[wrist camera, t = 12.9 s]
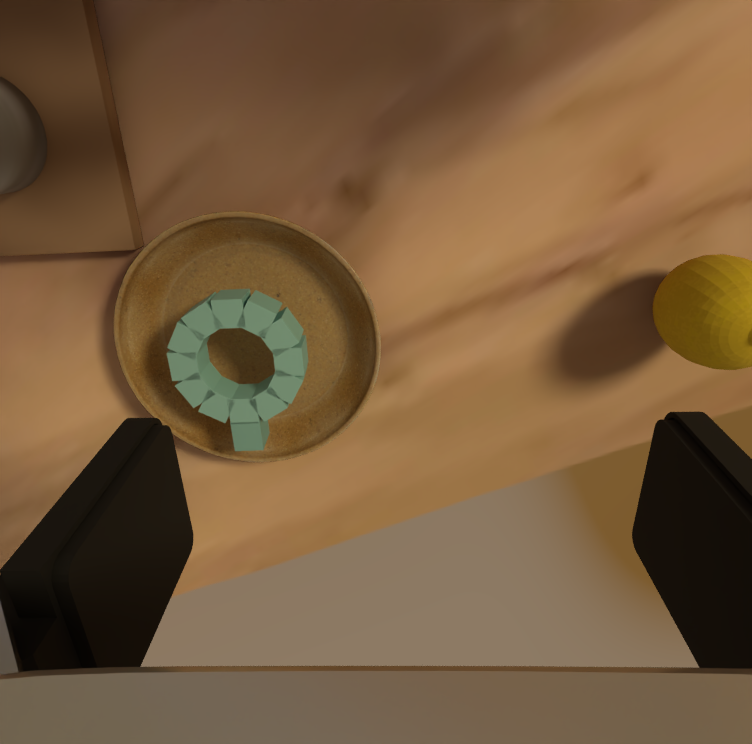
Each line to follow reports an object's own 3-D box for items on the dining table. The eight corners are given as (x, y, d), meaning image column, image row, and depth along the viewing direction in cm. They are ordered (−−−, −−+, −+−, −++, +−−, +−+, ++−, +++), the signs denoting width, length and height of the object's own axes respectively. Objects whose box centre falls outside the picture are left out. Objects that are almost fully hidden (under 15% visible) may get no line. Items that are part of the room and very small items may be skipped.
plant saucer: (139, 431, 36) (123, 452, 34) (121, 192, 31) (99, 197, 28) (368, 450, 37) (368, 472, 35) (393, 219, 31) (394, 226, 29)
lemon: (633, 346, 34) (705, 406, 26) (625, 256, 32) (701, 294, 24) (729, 323, 33) (829, 378, 26) (727, 230, 31) (836, 261, 24)
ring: (169, 292, 30) (156, 302, 28) (300, 286, 30) (296, 296, 28) (197, 435, 34) (186, 453, 32) (315, 430, 33) (311, 448, 32)
